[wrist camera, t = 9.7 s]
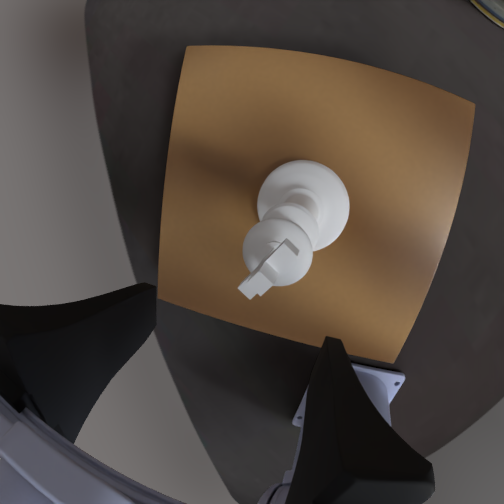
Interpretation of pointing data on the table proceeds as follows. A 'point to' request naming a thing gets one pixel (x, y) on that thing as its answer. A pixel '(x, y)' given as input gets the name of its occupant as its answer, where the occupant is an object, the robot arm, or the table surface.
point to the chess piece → (292, 224)
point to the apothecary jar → (492, 10)
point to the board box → (332, 156)
